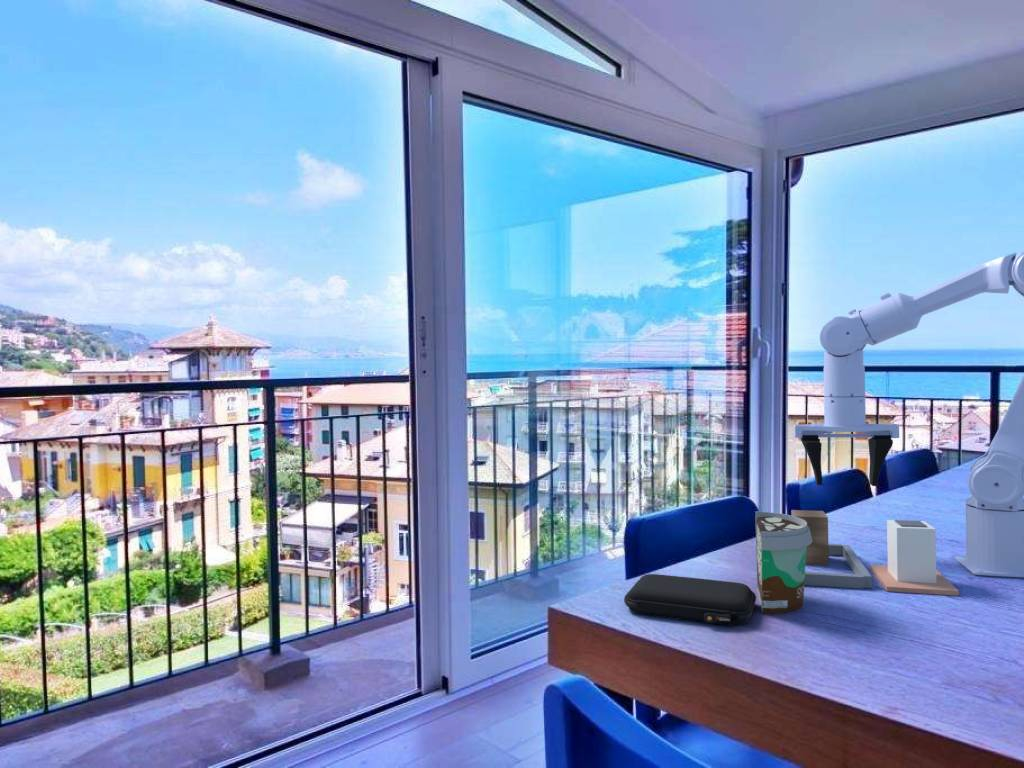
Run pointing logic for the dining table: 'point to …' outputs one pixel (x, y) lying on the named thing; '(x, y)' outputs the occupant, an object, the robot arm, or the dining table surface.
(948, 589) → the terracotta mat
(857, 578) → the grey rectangular frame
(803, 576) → the food container
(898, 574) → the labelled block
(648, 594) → the carrying case or bag
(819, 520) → the walnut block
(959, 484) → the dining table surface
